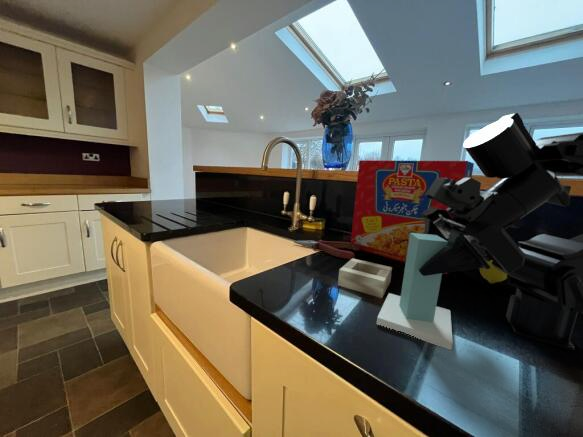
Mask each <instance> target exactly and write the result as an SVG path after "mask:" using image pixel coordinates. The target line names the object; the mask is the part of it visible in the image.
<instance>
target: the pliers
mask: <svg viewBox="0 0 583 437" xmlns="http://www.w3.org/2000/svg"><path fill="white" fill-rule="evenodd" d="M293 244H297V245H300V246H302V247H303V246H304V247H307V248H313V250H314V251H316V250H318V251H321V252H324V253H326V254H329V255H330V256H333V257H336V258H341V259H347V260H351V259H352V258H353V259H355V253H354V252H353V251H360V249H359V248H360V247H359V245H358V244H353V243H351V242H348V241H347V242H346V241H327V240H325V241H324V240H322V239H319V240H318V241H315V240H306V239H305V240H304V239H302V240H301V239H297V240H296V241H293ZM345 248H347V250H344V249H345ZM351 249H353V251H349V250H351Z"/></svg>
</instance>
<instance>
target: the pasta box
mask: <svg viewBox="0 0 583 437" xmlns="http://www.w3.org/2000/svg"><path fill="white" fill-rule="evenodd" d="M474 165H475V162H471V161H469V160H366V159H365V160H363V159H362V160H359V162H358V170H357V171H358V172H357V181H356V188H355V189H356V190H355V198H354V199H355V200H354V208H353V217H352V227H351V237H350V243H353V244H358V245H359V247H360V248H359V251H360V250H361V251H363V250H364V251H363V252H367V253H370V254H375V255H377V254H378V256H382V257H384V258H388V259H390V260H391V259H392V260H395V261H398V262H402V263H404V264H406V256H407V250H408V244H409V237H410V233H419V234H423V233H424V231H425V222H424V219H425V218H424V217H423V216H422V214H421V213H422V212H424V211H425V210H426V209H428V208H429V207H436V208H440V209H444V210H446V209H447V208H449V207H447V206H445V205H443V204H442V203H440V202H438V201H436V200H434V199H430V198H428V197H426V196H425V194H426V193H427V191H428V190H429V188H430V187H431V185H432V184H433V182H434V181H435V179H436V178H448V179H454V180H456V182H458V181H460V180H461V179H463V178H473V177H472V176H473V172H474ZM447 213H448V212H447ZM448 214H449V213H448ZM449 215H450V214H449ZM450 216H451V215H450ZM451 217H452V216H451ZM452 218H453V217H452ZM448 273H450V272H447V273H442V275H443V274H444V275H447V274H448Z"/></svg>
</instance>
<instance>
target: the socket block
mask: <svg viewBox="0 0 583 437" xmlns="http://www.w3.org/2000/svg"><path fill="white" fill-rule="evenodd" d="M392 270H393V267H392V266H387V265H383V264H379V263H374V262H371V261H370V262H369V261H366V260H361V259H358V258H357V259H356V258H354V259H353V258H352V259H349V260H348V261H347V262H346V263H345V264H344V265H343V266H342V267H340V268H339V270H338V281H337V286H339V287H343V288H346V289H349V290H353V291H355V292H356V291H357V292H360V293H363V294H367V295H369V296H373V297H375V298H376V297H377V298H380V299H383V297H384V295H385V294H386V291H387V290H388V287H389V286H390V283H391V279H392V274H393V273H392Z"/></svg>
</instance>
